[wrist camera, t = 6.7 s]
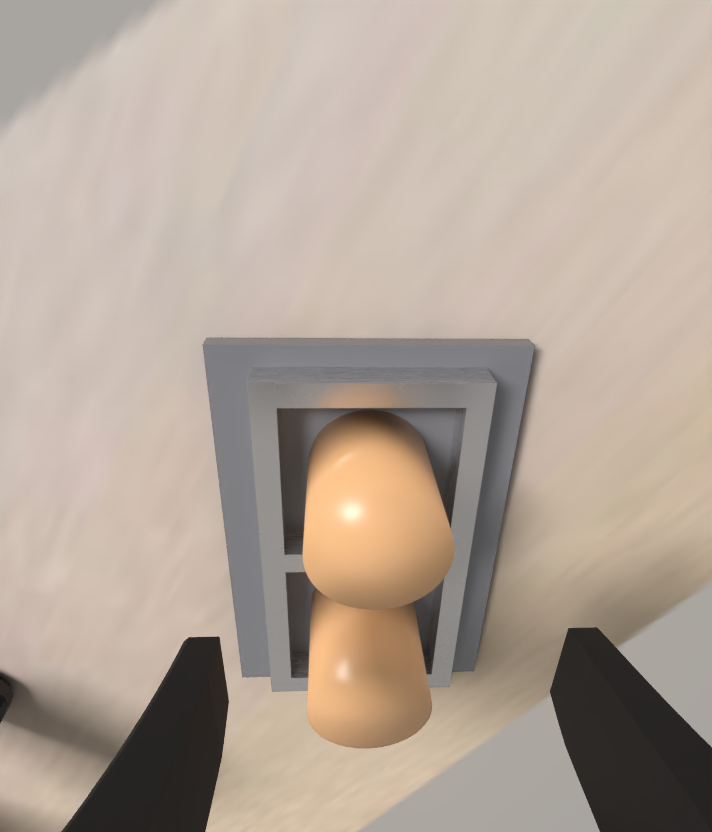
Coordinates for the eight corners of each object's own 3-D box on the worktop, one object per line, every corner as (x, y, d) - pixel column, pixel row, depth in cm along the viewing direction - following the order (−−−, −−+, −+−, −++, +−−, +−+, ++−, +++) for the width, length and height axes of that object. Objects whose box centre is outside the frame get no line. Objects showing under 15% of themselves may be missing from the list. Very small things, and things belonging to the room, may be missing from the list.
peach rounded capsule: (434, 411, 17) (465, 495, 13) (419, 511, 19) (443, 610, 15) (309, 407, 17) (303, 492, 13) (307, 508, 19) (301, 609, 15)
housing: (528, 339, 17) (600, 415, 12) (470, 659, 24) (503, 781, 19) (206, 337, 16) (160, 416, 12) (244, 664, 23) (224, 791, 19)
